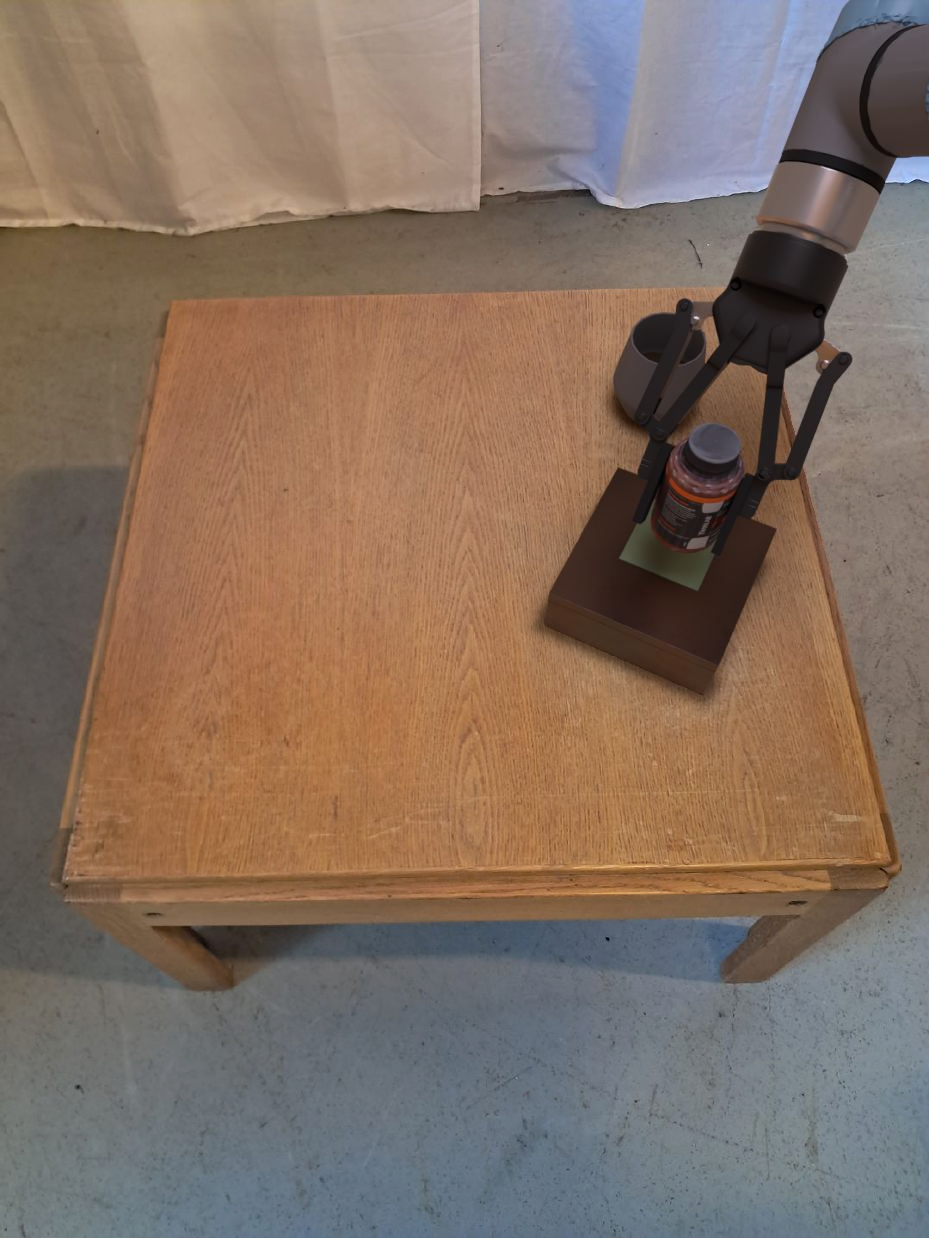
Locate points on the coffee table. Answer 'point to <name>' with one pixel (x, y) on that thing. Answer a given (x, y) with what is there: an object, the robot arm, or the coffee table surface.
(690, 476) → the supplement bottle
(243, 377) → the coffee table surface
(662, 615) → the dark wooden box
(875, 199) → the robot arm
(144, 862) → the coffee table surface
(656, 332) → the cup
